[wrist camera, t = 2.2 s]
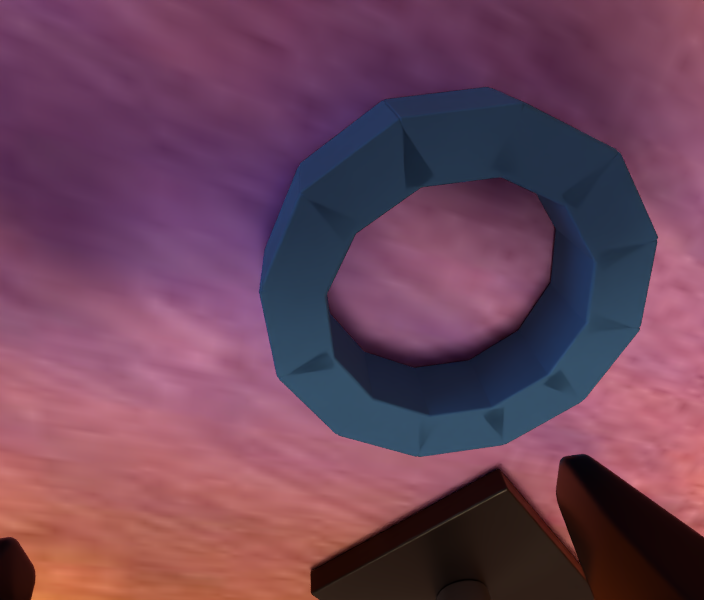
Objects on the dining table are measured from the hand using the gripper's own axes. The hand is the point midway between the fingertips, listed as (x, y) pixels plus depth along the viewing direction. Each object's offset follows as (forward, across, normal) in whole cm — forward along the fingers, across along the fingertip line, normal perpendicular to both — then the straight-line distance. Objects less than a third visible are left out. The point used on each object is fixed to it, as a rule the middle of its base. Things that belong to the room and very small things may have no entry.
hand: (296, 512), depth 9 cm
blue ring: (+8, -4, 0) cm, 9 cm away
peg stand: (+8, -5, +15) cm, 17 cm away
